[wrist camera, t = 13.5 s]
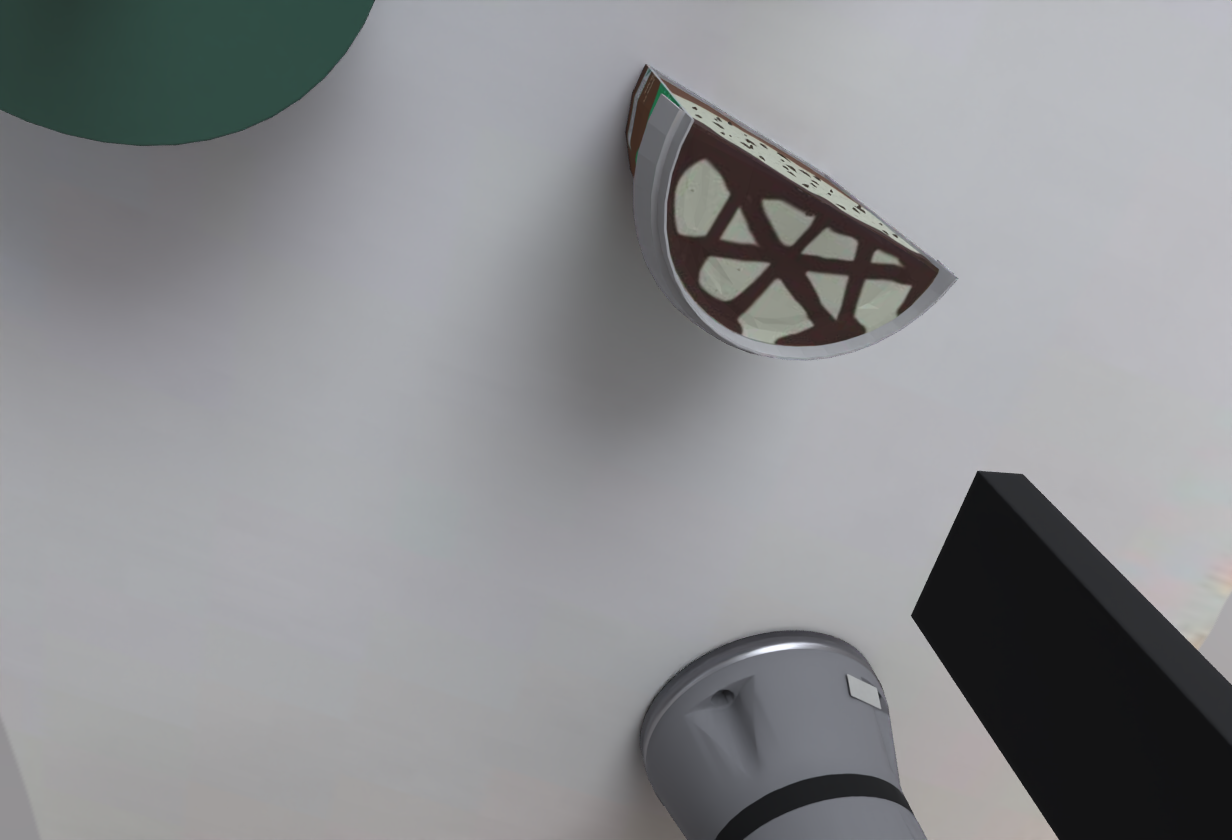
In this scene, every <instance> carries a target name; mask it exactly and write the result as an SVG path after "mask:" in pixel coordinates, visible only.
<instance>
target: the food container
mask: <svg viewBox="0 0 1232 840" xmlns="http://www.w3.org/2000/svg"><path fill="white" fill-rule="evenodd" d="M626 140H627V148H628V156H629V164H630V170H631V173H632V175H633V178H634V181H633V213H634V220H635V226H636V232H637V239H638V242H639V245H640V248H641V251H642V254H643V257H644V260H645V263H646V265H647V267H648V269H649V270H650V272H651V274H652V276H653V278H654V280H655V281H656V283H657V285H658V287H659V288H660V289H661V291H662V292H663V293H664V294H665V296H666V297H667V298H668V299H669V300H670V302H671V303H672V304H673V305H674V306H675V307H676V308H677V309H678V310H679V311H680V312H682V313H683V314H684V315H685V316H686V317H687V318H688V319H690V320H691V321H692V322H693V323H695V324H696V325H698V326H699V327H700V328H702V329H703V330H705V331H706V332H708V333H709V334H711V335H713V336H714V337H716V338H718V339H719V340H721V341H723V342H724V343H726V344H728V345H730V346H733V347H735V348H738V349H741V350H743V351H746V352H748V353H752V354H757V355H762V356H767V357H772V358H778V359H786V360H814V359H824V358H831V357H836V356H840V355H844V354H848V353H852V352H855V351H858V350H860V349H863V348H865V347H868V346H871V345H873V344H876V343H878V342H880V341H882V340H884V339H885V338H887V337H889V336H891V335H893V334H895V333H897V332H898V331H900V330H902V329H903V328H905V327H906V326H907V325H909V324H910V323H912V322H913V321H914V320H916V319H917V318H919V317H920V316H921V315H923V314H924V313H925V312H926V311H927V310H928V309H929V308H930V307H931V306H933V305H934V304H935V303H936V302H937V301H938V300H939V299H940V298H941V297H942V296H943V295H944V294H945V293H946V292H947V291H948V290H949V288H950V287H951V286H952V285H953V284H954V283H955V282H956V281H957V279H958V278H957V277H956V276H955V275H954V273H953V272H951V271H950V270H949V269H948V268H947V267H946V266H945V265H944V264H942V263H941V262H940V261H938V260H937V261H936V260H935V259H933V258H932V257H931V256H929V255H928V254H927V253H926V252H924V251H923V250H922V249H921V248H919V247H918V246H917V245H915V244H914V243H913V242H912V241H910V240H909V239H908V238H907V237H905V236H904V235H903V234H901V233H900V232H899V231H898V230H896V229H895V228H894V227H893V226H891V225H890V224H889V223H887V222H886V221H885V220H884V219H882V218H881V217H880V216H879V215H877V214H876V213H875V212H873V211H872V210H871V209H870V208H868V207H867V206H866V205H865V204H863V203H862V202H861V201H859V200H858V199H857V198H856V197H854V196H853V195H852V194H851V193H849V192H848V191H847V190H845V189H844V188H843V187H842V186H840V185H839V184H838V183H837V182H835V181H834V180H833V179H831V178H830V177H829V176H828V175H826V174H824V173H823V172H821V171H820V170H818V169H816V168H815V167H813V166H811V165H810V164H808V163H807V162H805V161H803V160H802V159H800V158H798V157H797V156H795V155H793V154H792V153H790V152H789V151H787V150H785V149H784V148H782V147H780V146H779V145H777V144H776V143H774V142H772V141H771V140H769V139H767V138H766V137H764V136H763V135H761V134H759V133H758V132H756V131H754V130H753V129H751V128H750V127H748V126H746V125H745V124H743V123H741V122H740V121H738V120H736V119H735V118H733V117H732V116H730V115H728V114H727V113H725V112H723V111H722V110H720V109H719V108H717V107H715V106H714V105H712V104H710V103H709V102H707V101H706V100H704V99H702V98H701V97H699V96H697V95H696V94H694V93H692V92H691V91H689V90H688V89H686V88H684V87H683V86H681V85H679V84H678V83H676V82H675V81H673V80H671V79H670V78H668V77H666V76H665V75H663V74H662V73H660V72H658V71H657V70H655V69H653V68H652V67H650V66H649V65H647V64H646V65H645V67H644V69H643V71H642V73H641V75H640V77H639V80H638V82H637V84H636V86H635V88H634V90H633V93H632V98H631V104H630V110H629V115H628V121H627V126H626Z"/></svg>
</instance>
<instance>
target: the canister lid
mask: <svg viewBox="0 0 1232 840" xmlns="http://www.w3.org/2000/svg"><path fill="white" fill-rule="evenodd" d="M374 1H375V0H0V110H2V111H5V112H7V113H9V114H11V115H14V116H16V117H18V118H20V119H22V120H25V121H27V122H30V123H33V124H36V125H39V126H42V127H45V128H48V129H51V130H54V131H57V132H60V133H63V134H67V135H72V136H76V137H81V138H86V139H90V140H95V141H100V142H106V143H116V144H126V145H136V146H158V145H180V144H187V143H193V142H200V141H207V140H212V139H215V138H219V137H222V136H225V135H229V134H232V133H236V132H239V131H243V130H245V129H247V128H249V127H251V126H254V125H256V124H258V123H260V122H263V121H265V120H267V119H269V118H271V117H273V116H275V115H276V114H278V113H280V112H281V111H283V110H284V109H286V108H287V107H289V106H290V105H292V104H294V103H295V102H297V101H298V100H300V99H301V98H302V97H303V96H304V95H306V94H307V93H308V92H309V91H310V90H311V89H313V88H314V87H315V86H316V85H317V84H318V83H319V82H321V81H322V80H323V79H324V78H325V77H326V76H327V75H328V73H329V72H330V71H331V70H332V69H333V68H334V66H335V65H336V64H337V63H338V62H339V61H340V59H341V58H342V57H343V56H344V55H345V54H346V52H347V51H348V49H349V47H350V46H351V44H352V43H353V41H354V40H355V38H356V36H357V35H358V33H359V32H360V30H361V28H362V27H363V25H364V24H365V21H366V19H367V17H368V15H369V12H370V10H371V8H372V6H373V3H374Z"/></svg>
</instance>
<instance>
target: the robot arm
mask: <svg viewBox="0 0 1232 840" xmlns="http://www.w3.org/2000/svg"><path fill="white" fill-rule="evenodd" d="M911 616H912V618H913V620H914V621H915V623H916V624H917V626H918V627H919V629H920V630H921V632H922V633H923V635H924V636H925V638H926V639H927V641H928V642H929V644H930V645H931V647H932V648H933V650H934V651H935V653H936V654H937V656H938V657H939V659H940V660H941V662H942V663H943V665H944V666H945V668H946V669H947V671H948V672H949V674H950V675H951V677H952V678H953V680H954V682H955V683H956V685H957V686H958V688H959V689H960V691H961V692H962V694H963V695H964V697H965V698H966V700H967V701H968V703H969V704H970V706H971V707H972V709H973V710H974V712H975V713H976V715H977V716H978V718H979V719H980V721H981V722H982V724H983V725H984V727H985V728H986V730H987V731H988V733H989V734H990V736H991V737H992V739H993V740H994V742H995V744H996V745H997V747H998V748H999V750H1000V751H1001V753H1002V754H1003V756H1004V757H1005V759H1006V760H1007V762H1008V763H1009V765H1010V766H1011V768H1012V769H1013V771H1014V772H1015V774H1016V775H1017V777H1018V778H1019V780H1020V781H1021V783H1022V784H1023V786H1024V787H1025V789H1026V790H1027V792H1028V793H1029V795H1030V796H1031V798H1032V799H1033V801H1034V802H1035V804H1036V806H1037V807H1038V809H1039V810H1040V812H1041V813H1042V815H1043V816H1044V818H1045V819H1046V821H1047V822H1048V824H1049V825H1050V827H1051V828H1052V830H1053V831H1054V833H1055V834H1056V836H1057V837H1058V839H1059V840H1232V685H1231V684H1230V683H1229V682H1228V681H1227V680H1226V679H1225V678H1224V677H1223V676H1222V675H1221V674H1220V673H1219V672H1218V671H1217V670H1216V669H1215V668H1214V667H1213V666H1212V665H1211V664H1210V663H1209V662H1208V661H1207V660H1206V659H1205V658H1204V656H1202V655H1201V653H1200V652H1199V651H1198V650H1197V649H1196V648H1195V647H1194V646H1193V645H1192V644H1191V643H1190V642H1189V641H1188V640H1187V639H1186V638H1185V637H1184V636H1183V635H1182V634H1181V633H1180V632H1179V631H1178V630H1177V629H1176V628H1175V627H1174V626H1173V625H1172V624H1171V623H1170V622H1169V621H1168V620H1167V619H1166V618H1165V617H1164V616H1163V615H1162V614H1161V613H1160V612H1159V611H1158V610H1157V609H1156V608H1155V607H1154V606H1153V605H1152V604H1151V603H1150V602H1149V601H1148V600H1147V599H1146V598H1145V597H1144V596H1143V595H1142V594H1141V593H1140V592H1139V591H1138V590H1137V589H1136V588H1135V587H1134V586H1133V585H1132V584H1131V583H1130V582H1129V581H1128V580H1127V579H1126V578H1125V577H1124V576H1123V575H1122V574H1121V573H1120V572H1119V571H1118V570H1117V569H1116V568H1115V567H1114V566H1113V565H1112V564H1111V563H1110V562H1109V561H1108V560H1107V559H1106V558H1105V557H1104V556H1103V555H1102V554H1101V553H1100V552H1099V551H1098V550H1097V549H1096V548H1095V547H1094V546H1093V545H1092V544H1091V543H1090V542H1089V541H1088V540H1087V539H1086V537H1085V536H1084V535H1083V534H1082V533H1081V532H1080V531H1079V530H1078V529H1077V528H1076V527H1075V526H1074V525H1073V524H1072V523H1071V522H1070V521H1069V520H1068V519H1067V518H1066V517H1065V516H1064V515H1063V514H1062V513H1061V512H1060V511H1059V510H1058V509H1057V508H1056V507H1055V506H1054V505H1053V504H1052V503H1051V502H1050V501H1049V500H1048V499H1047V498H1046V497H1045V496H1044V495H1043V494H1042V493H1041V492H1040V491H1039V490H1038V489H1037V488H1036V487H1035V486H1034V485H1033V484H1032V483H1031V482H1030V481H1029V480H1028V479H1027V478H1026V477H1025V476H1024V475H1023V474H1014V473H1000V472H986V471H977V473H976V476H975V478H974V480H973V482H972V484H971V486H970V489H969V491H968V493H967V495H966V497H965V499H964V502H963V504H962V506H961V508H960V510H959V512H958V515H957V517H956V519H955V521H954V523H953V525H952V528H951V530H950V532H949V534H948V536H947V539H946V541H945V543H944V545H943V547H942V549H941V552H940V554H939V556H938V558H937V560H936V562H935V565H934V567H933V569H932V571H931V573H930V575H929V578H928V580H927V582H926V584H925V586H924V588H923V591H922V593H921V595H920V597H919V599H918V602H917V604H916V606H915V608H914V610H913V612H912V615H911ZM640 748H641V754H642V758H643V762H644V766H645V770H646V773H647V776H648V779H649V781H650V783H651V785H652V787H653V790H654V792H655V794H656V795H657V797H658V798H659V800H660V801H661V803H662V804H663V806H665V808H666V809H667V811H668V812H669V814H670V815H671V817H672V818H673V820H674V821H675V823H676V824H677V826H678V827H679V829H680V830H681V832H682V833H683V834H684V836H685V837H686V839H687V840H927V838H926V836H925V834H924V832H923V830H922V829H921V827H920V825H919V823H918V821H917V820H916V818H915V816H914V814H913V812H912V810H911V808H910V806H909V804H908V802H907V800H906V798H905V796H904V794H903V792H902V790H901V787H900V781H899V774H898V767H897V761H896V754H895V748H894V741H893V734H892V728H891V721H890V715H889V709H888V704H887V700H886V697H885V695H884V691H883V688H882V686H881V683H880V682H879V680H878V678H877V676H876V675H875V673H874V671H873V669H872V667H871V666H870V664H869V662H868V661H867V659H866V658H865V657H864V656H863V655H862V654H861V653H860V652H859V651H858V650H857V649H856V648H854V647H853V646H851V645H850V644H848V643H847V642H845V641H843V640H841V639H838V638H835V637H833V636H830V635H826V634H822V633H817V632H810V631H778V632H770V633H764V634H759V635H755V636H750V637H747V638H744V639H740V640H737V641H734V642H732V643H729V644H727V645H724V646H722V647H720V648H718V649H715V650H713V651H711V652H710V653H708V654H706V655H704V656H702V657H701V658H699V659H697V660H696V661H694V662H693V663H691V664H690V665H688V666H687V667H686V668H684V669H683V670H682V671H681V672H679V673H678V674H677V675H676V676H675V677H674V678H673V679H672V680H671V681H670V682H669V683H668V684H667V685H666V686H665V687H664V688H663V689H662V690H661V691H660V693H659V694H658V695H657V697H656V698H655V700H654V701H653V702H652V704H651V706H650V708H649V710H648V711H647V714H646V716H645V718H644V721H643V725H642V728H641V735H640Z"/></svg>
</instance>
